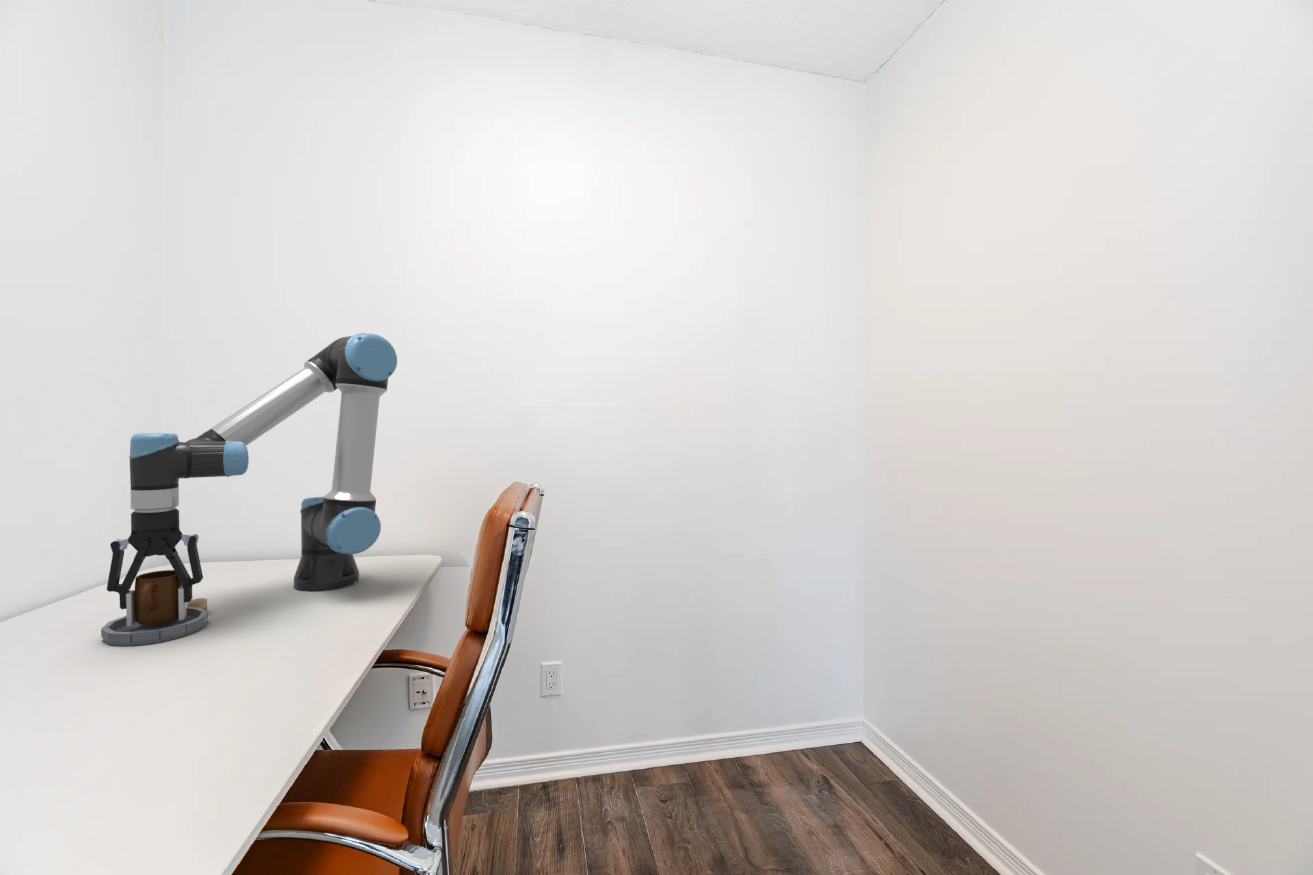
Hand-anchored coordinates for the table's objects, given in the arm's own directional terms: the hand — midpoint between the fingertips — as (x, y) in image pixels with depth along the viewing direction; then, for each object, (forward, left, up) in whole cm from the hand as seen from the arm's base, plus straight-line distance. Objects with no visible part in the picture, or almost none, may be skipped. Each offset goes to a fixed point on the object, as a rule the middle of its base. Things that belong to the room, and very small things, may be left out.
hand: (157, 620), depth 123 cm
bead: (-5, -9, -2) cm, 11 cm away
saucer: (0, 0, -2) cm, 2 cm away
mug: (0, 0, 0) cm, 1 cm away
